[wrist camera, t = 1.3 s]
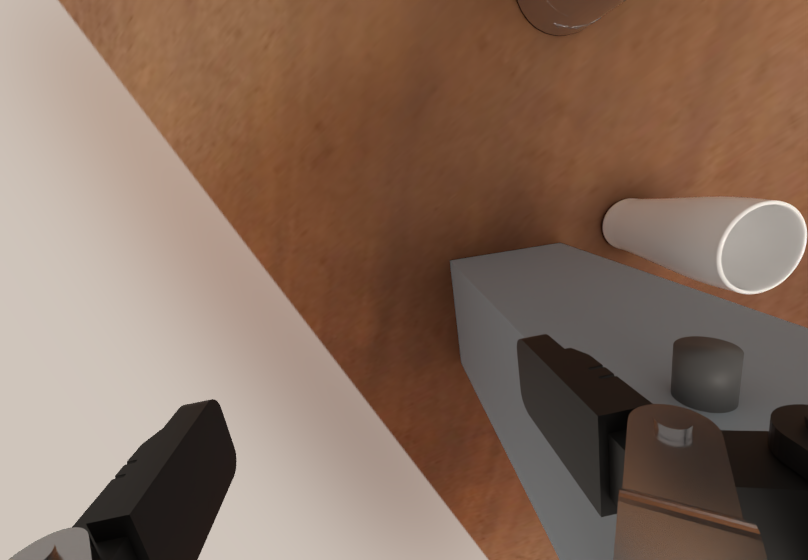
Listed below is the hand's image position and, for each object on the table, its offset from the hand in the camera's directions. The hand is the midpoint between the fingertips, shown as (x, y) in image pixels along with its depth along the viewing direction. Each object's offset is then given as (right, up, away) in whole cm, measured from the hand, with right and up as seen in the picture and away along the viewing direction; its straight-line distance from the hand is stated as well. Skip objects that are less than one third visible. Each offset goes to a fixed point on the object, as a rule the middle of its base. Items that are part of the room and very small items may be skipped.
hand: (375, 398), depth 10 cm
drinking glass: (+24, +9, +31) cm, 40 cm away
